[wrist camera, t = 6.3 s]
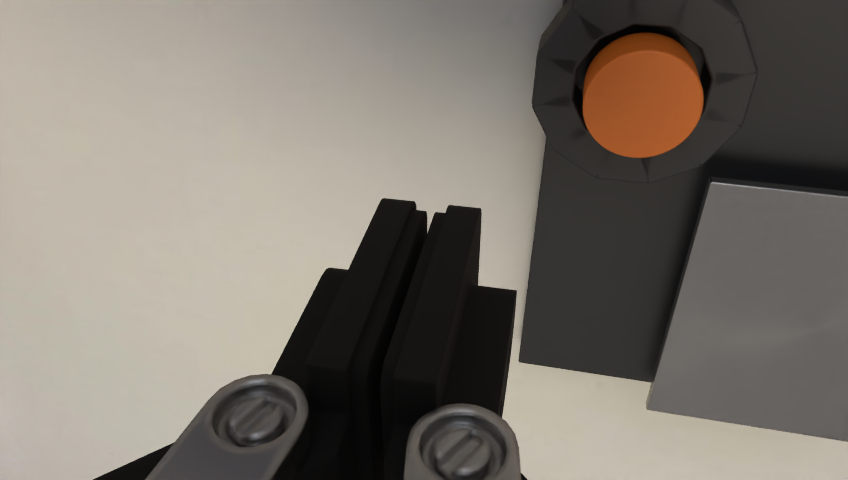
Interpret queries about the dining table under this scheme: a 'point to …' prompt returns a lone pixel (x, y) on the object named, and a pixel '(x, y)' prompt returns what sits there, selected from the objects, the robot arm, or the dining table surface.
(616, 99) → the button
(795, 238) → the weighing pan
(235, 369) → the dining table surface
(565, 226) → the scale
